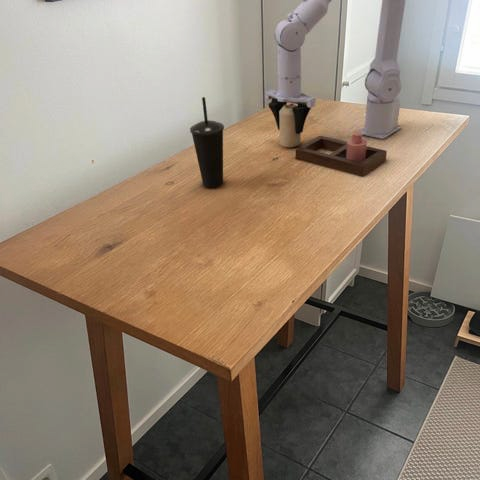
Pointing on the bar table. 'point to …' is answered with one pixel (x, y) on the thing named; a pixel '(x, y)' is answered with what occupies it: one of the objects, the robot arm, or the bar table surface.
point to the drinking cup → (209, 150)
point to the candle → (288, 127)
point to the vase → (356, 147)
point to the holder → (339, 156)
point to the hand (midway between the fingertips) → (290, 130)
